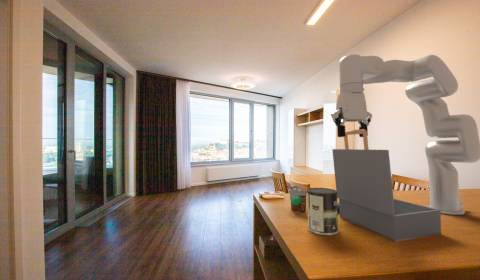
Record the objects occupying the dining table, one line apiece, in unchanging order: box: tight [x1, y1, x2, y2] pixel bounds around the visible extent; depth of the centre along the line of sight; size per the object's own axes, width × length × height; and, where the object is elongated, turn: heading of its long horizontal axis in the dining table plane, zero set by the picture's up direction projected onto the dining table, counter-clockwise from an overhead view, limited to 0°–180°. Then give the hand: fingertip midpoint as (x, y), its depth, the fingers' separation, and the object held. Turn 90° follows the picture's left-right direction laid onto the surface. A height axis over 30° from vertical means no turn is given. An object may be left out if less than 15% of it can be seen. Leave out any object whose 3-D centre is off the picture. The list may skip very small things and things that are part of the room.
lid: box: [331, 128, 395, 216], centre depth 77 cm, size 28×25×2 cm
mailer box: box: [338, 198, 442, 243], centre depth 80 cm, size 20×24×8 cm
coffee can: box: [306, 187, 339, 236], centre depth 77 cm, size 10×10×14 cm
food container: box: [288, 185, 307, 213], centre depth 100 cm, size 12×6×10 cm, turn 5°
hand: (352, 136), depth 77 cm, fingers open, 9 cm apart
